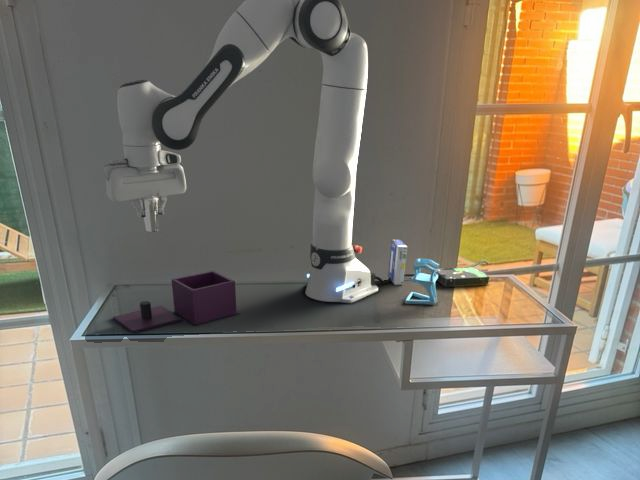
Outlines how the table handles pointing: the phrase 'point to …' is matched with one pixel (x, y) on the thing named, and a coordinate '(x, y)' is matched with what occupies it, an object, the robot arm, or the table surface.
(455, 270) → the disk drive
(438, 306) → the table surface
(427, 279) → the chair
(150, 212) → the milkshake
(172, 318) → the lid
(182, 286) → the box
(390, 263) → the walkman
